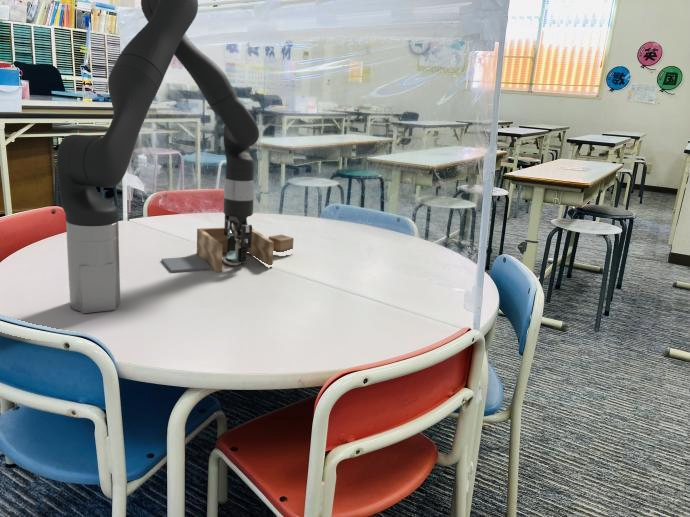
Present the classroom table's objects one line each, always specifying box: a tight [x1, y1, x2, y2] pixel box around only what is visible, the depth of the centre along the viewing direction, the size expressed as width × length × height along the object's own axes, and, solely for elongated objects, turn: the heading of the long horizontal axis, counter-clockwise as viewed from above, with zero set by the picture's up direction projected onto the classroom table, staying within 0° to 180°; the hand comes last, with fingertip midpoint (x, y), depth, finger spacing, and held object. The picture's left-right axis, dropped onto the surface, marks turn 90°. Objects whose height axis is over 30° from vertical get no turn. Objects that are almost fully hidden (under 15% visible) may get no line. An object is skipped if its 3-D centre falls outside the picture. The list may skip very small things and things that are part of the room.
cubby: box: [196, 227, 274, 273], centre depth 146 cm, size 17×15×7 cm
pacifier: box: [222, 240, 249, 266], centre depth 144 cm, size 7×6×6 cm
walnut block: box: [268, 234, 294, 252], centre depth 157 cm, size 5×5×5 cm
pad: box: [161, 255, 213, 274], centre depth 139 cm, size 10×10×1 cm
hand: (236, 257), depth 145 cm, fingers closed on pacifier, 7 cm apart
